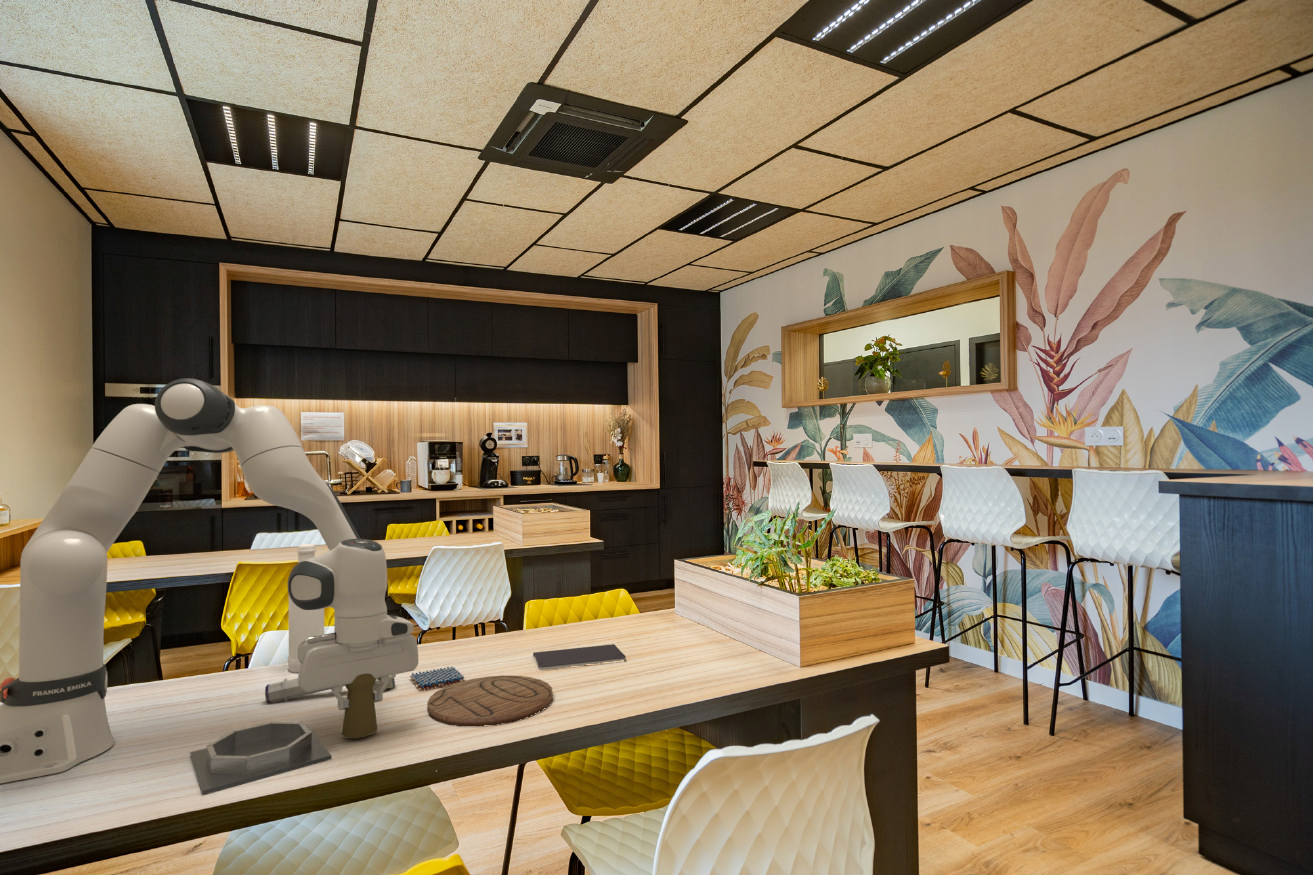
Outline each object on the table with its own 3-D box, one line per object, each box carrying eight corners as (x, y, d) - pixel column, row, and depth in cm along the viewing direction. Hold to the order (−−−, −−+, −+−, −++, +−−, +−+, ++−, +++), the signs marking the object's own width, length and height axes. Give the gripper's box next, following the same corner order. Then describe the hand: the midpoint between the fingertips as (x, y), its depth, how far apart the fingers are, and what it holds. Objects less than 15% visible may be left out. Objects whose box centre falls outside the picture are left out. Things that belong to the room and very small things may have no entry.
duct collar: (202, 794, 101) (202, 774, 101) (190, 755, 114) (190, 737, 114) (331, 758, 112) (331, 740, 112) (305, 727, 126) (305, 710, 126)
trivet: (471, 740, 120) (471, 729, 120) (404, 707, 136) (404, 697, 137) (577, 701, 138) (577, 692, 138) (507, 676, 155) (507, 668, 155)
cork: (340, 740, 118) (341, 677, 118) (341, 727, 123) (343, 667, 124) (377, 734, 120) (378, 672, 120) (377, 723, 125) (378, 663, 126)
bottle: (280, 671, 161) (280, 546, 162) (307, 661, 168) (307, 542, 169) (305, 674, 158) (305, 547, 159) (332, 664, 165) (331, 543, 166)
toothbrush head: (269, 680, 143) (393, 652, 150) (274, 710, 143) (397, 681, 150) (262, 688, 138) (391, 658, 145) (267, 719, 138) (396, 688, 145)
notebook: (614, 649, 176) (533, 658, 169) (614, 643, 176) (533, 652, 169) (626, 663, 164) (539, 673, 157) (626, 657, 164) (539, 666, 157)
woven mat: (454, 673, 159) (453, 664, 159) (467, 685, 150) (467, 676, 150) (408, 681, 153) (408, 672, 153) (419, 694, 144) (419, 685, 144)
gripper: (302, 642, 113) (301, 724, 113) (421, 622, 126) (421, 696, 126) (294, 634, 118) (293, 714, 118) (410, 617, 131) (409, 688, 131)
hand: (360, 704), depth 122 cm, fingers closed on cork, 4 cm apart
